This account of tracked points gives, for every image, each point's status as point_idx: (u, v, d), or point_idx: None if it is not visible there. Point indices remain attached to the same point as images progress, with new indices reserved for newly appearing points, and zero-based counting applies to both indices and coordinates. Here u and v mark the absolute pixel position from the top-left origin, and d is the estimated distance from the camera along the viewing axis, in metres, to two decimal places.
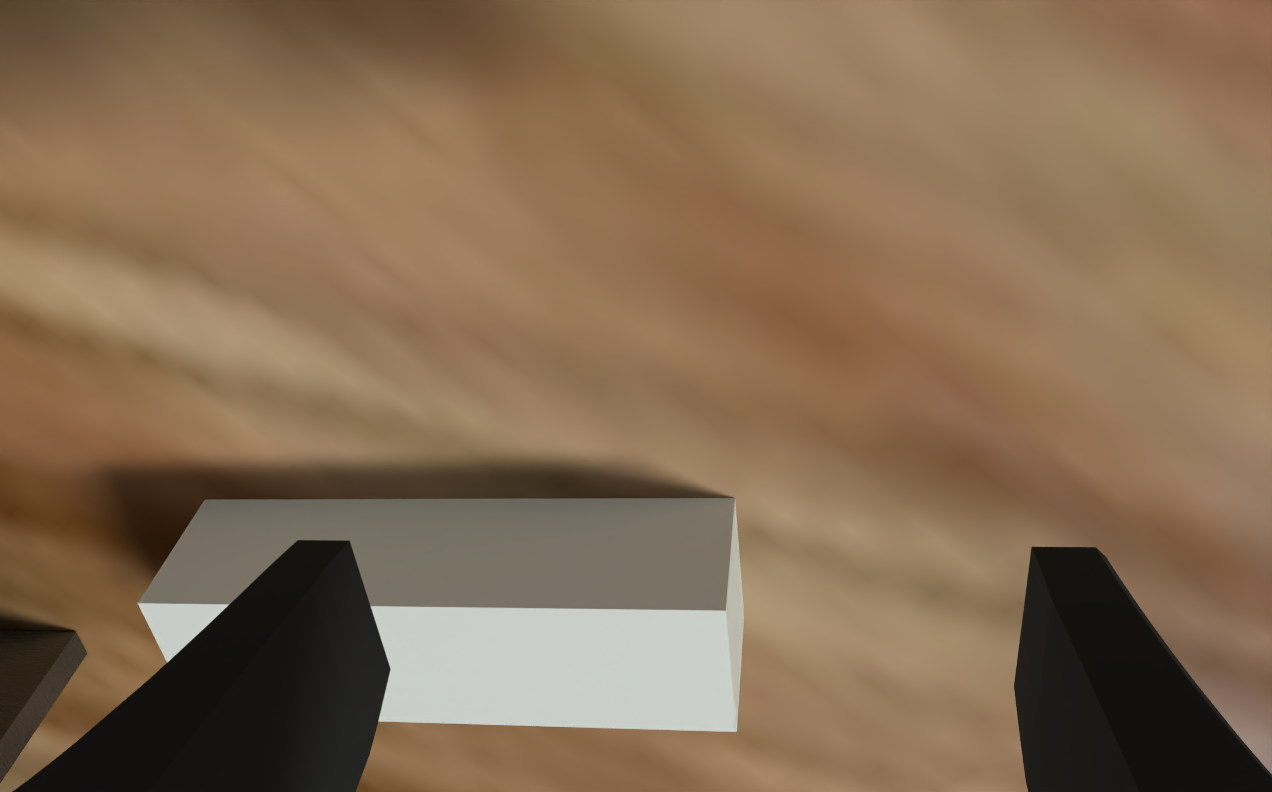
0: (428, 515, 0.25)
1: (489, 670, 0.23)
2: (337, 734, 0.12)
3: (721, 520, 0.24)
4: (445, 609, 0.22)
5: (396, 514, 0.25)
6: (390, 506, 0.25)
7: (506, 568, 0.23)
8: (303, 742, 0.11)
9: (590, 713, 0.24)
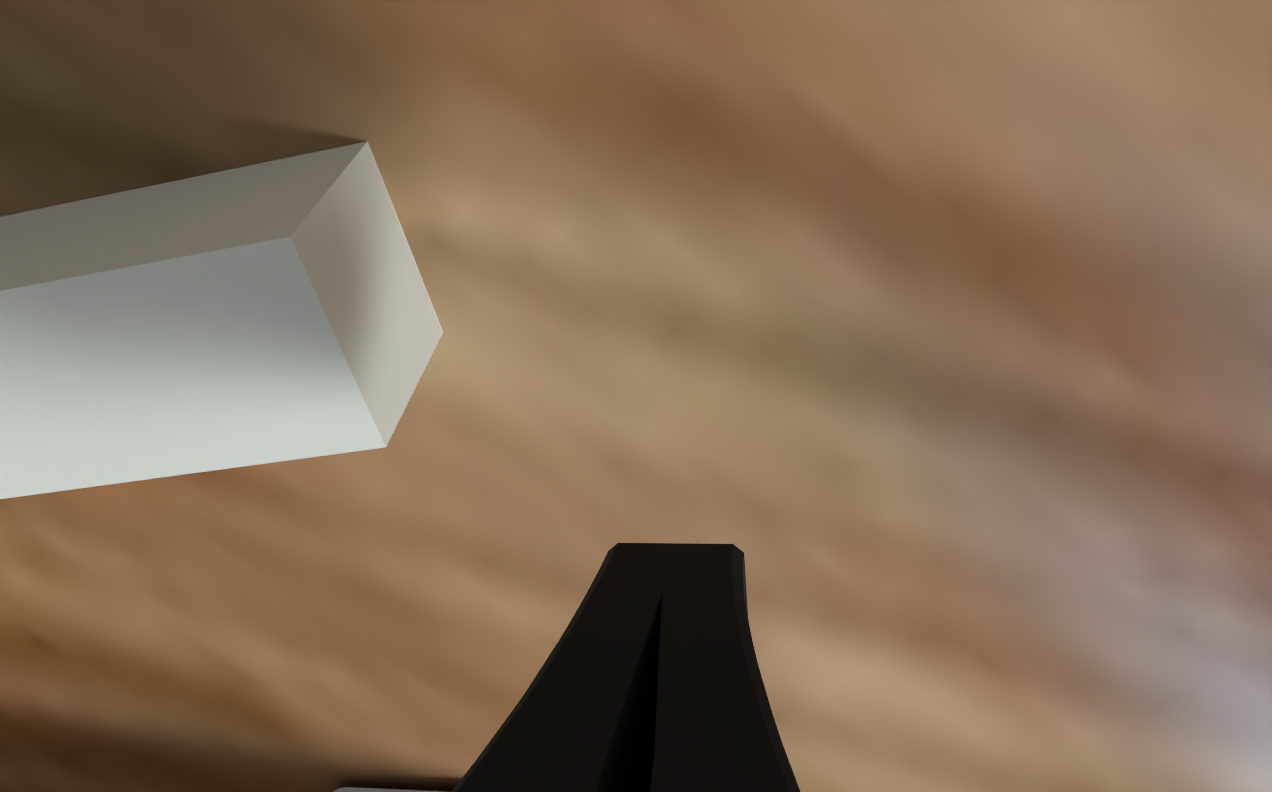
0: None
1: (46, 398, 0.17)
2: None
3: (338, 162, 0.17)
4: None
5: None
6: None
7: (48, 253, 0.17)
8: None
9: (196, 448, 0.17)
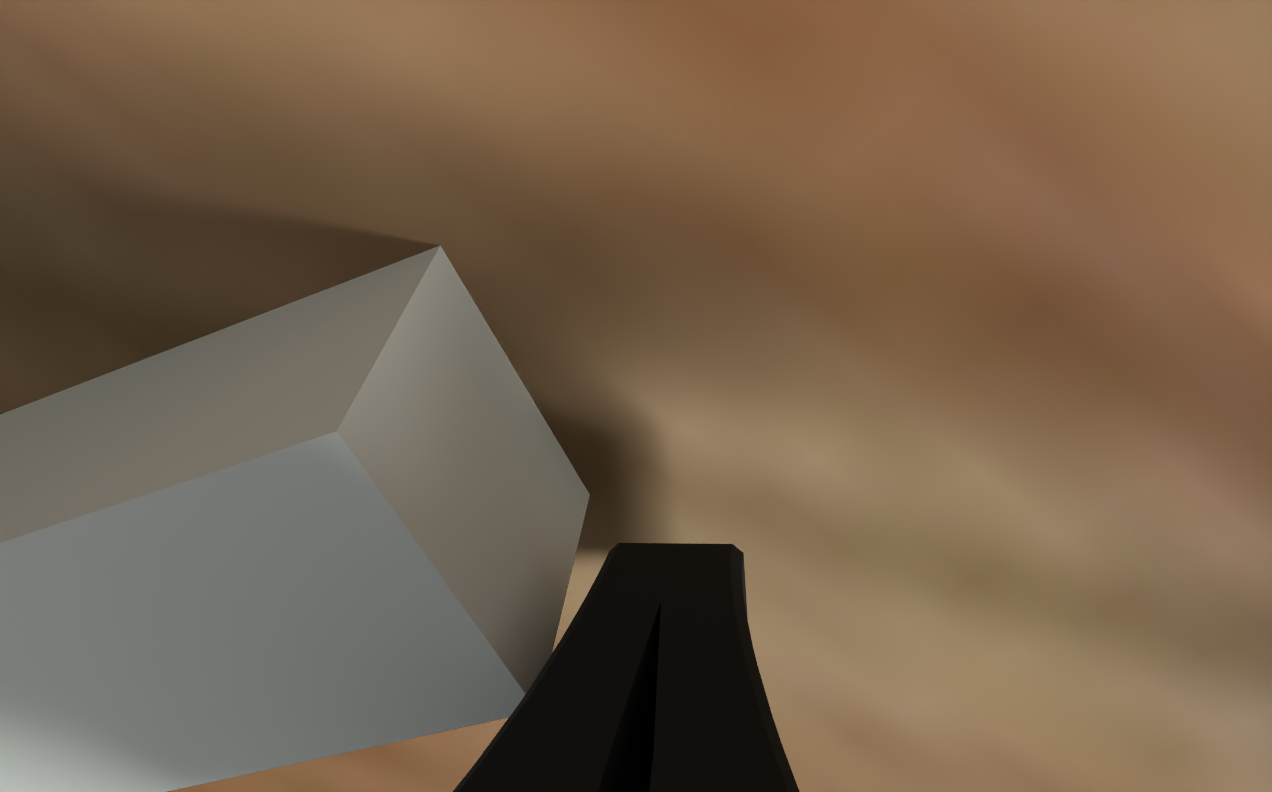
0: None
1: (40, 697, 0.12)
2: None
3: (402, 285, 0.11)
4: None
5: None
6: None
7: (11, 485, 0.12)
8: None
9: (261, 737, 0.12)
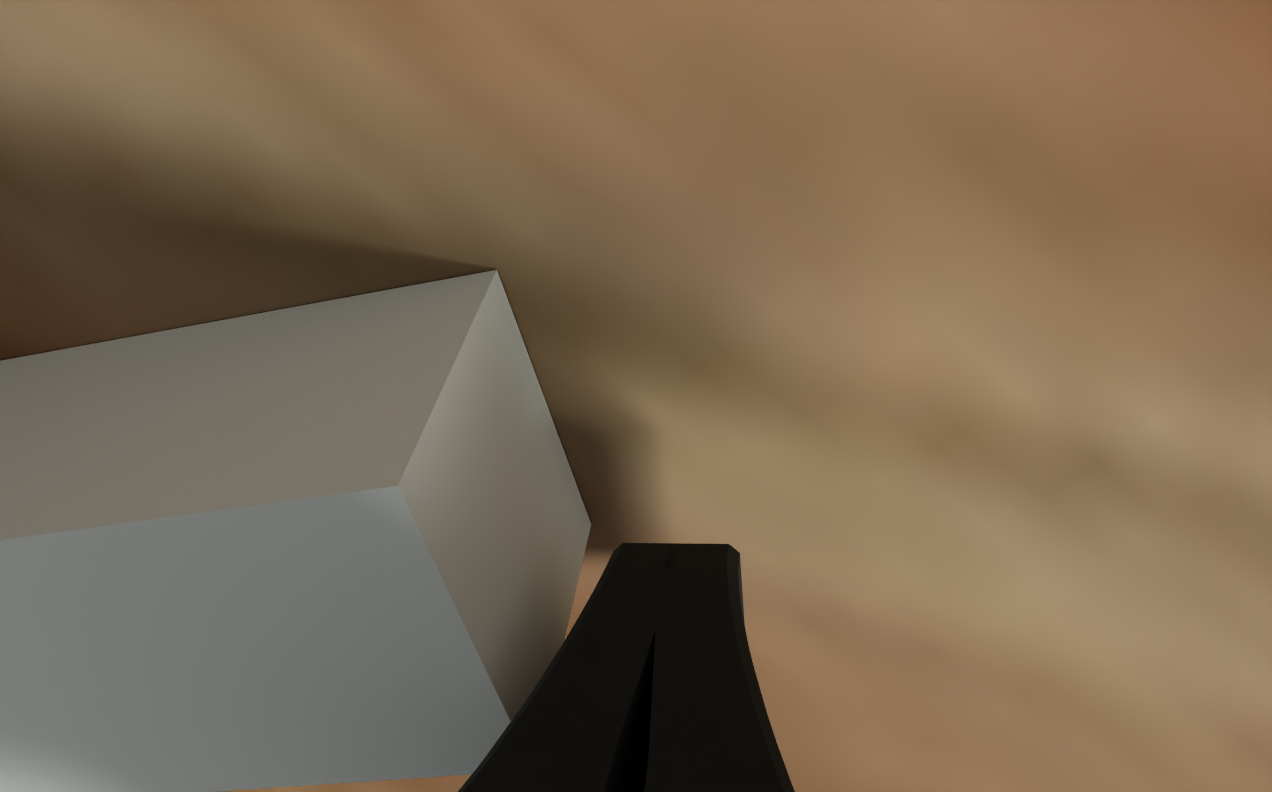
0: None
1: (6, 692, 0.11)
2: None
3: (452, 323, 0.11)
4: None
5: None
6: None
7: (6, 470, 0.11)
8: None
9: (237, 760, 0.11)
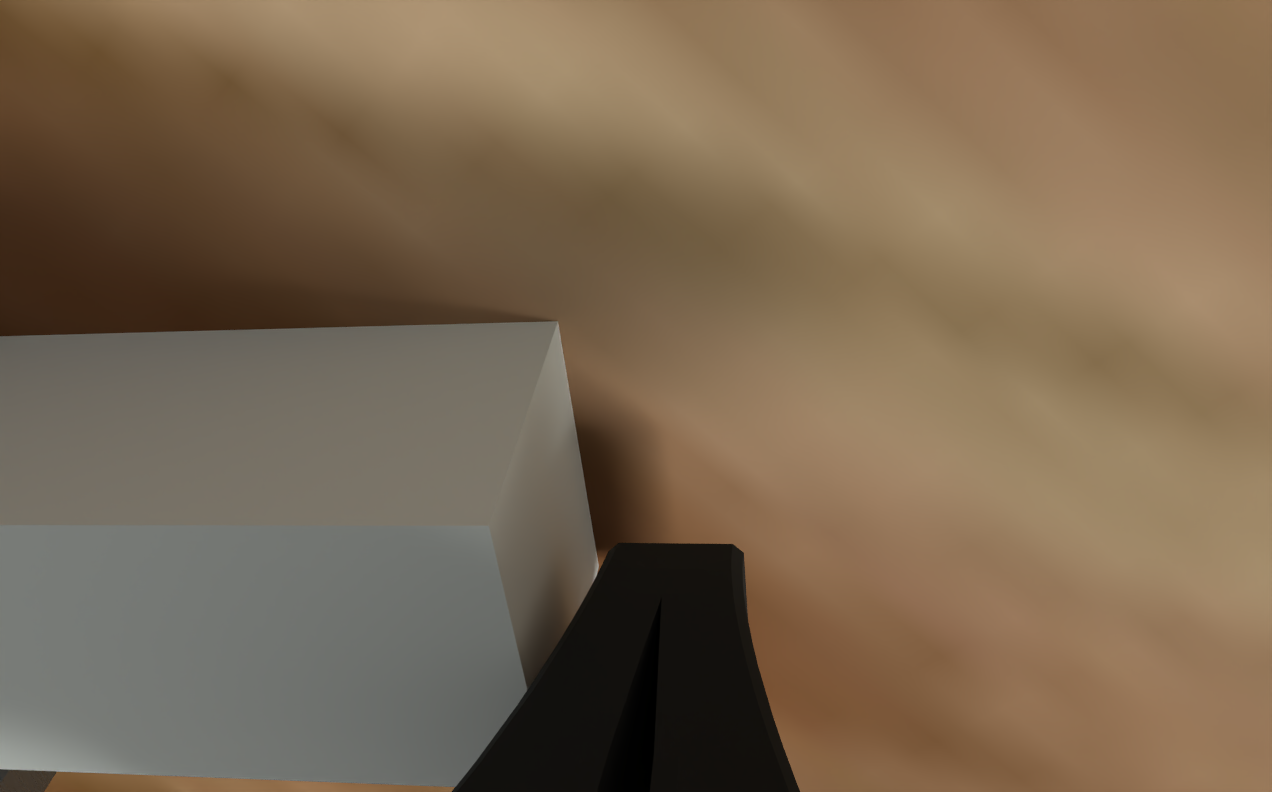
0: None
1: (38, 664, 0.11)
2: None
3: (521, 359, 0.12)
4: None
5: None
6: None
7: (66, 448, 0.11)
8: None
9: (257, 752, 0.12)
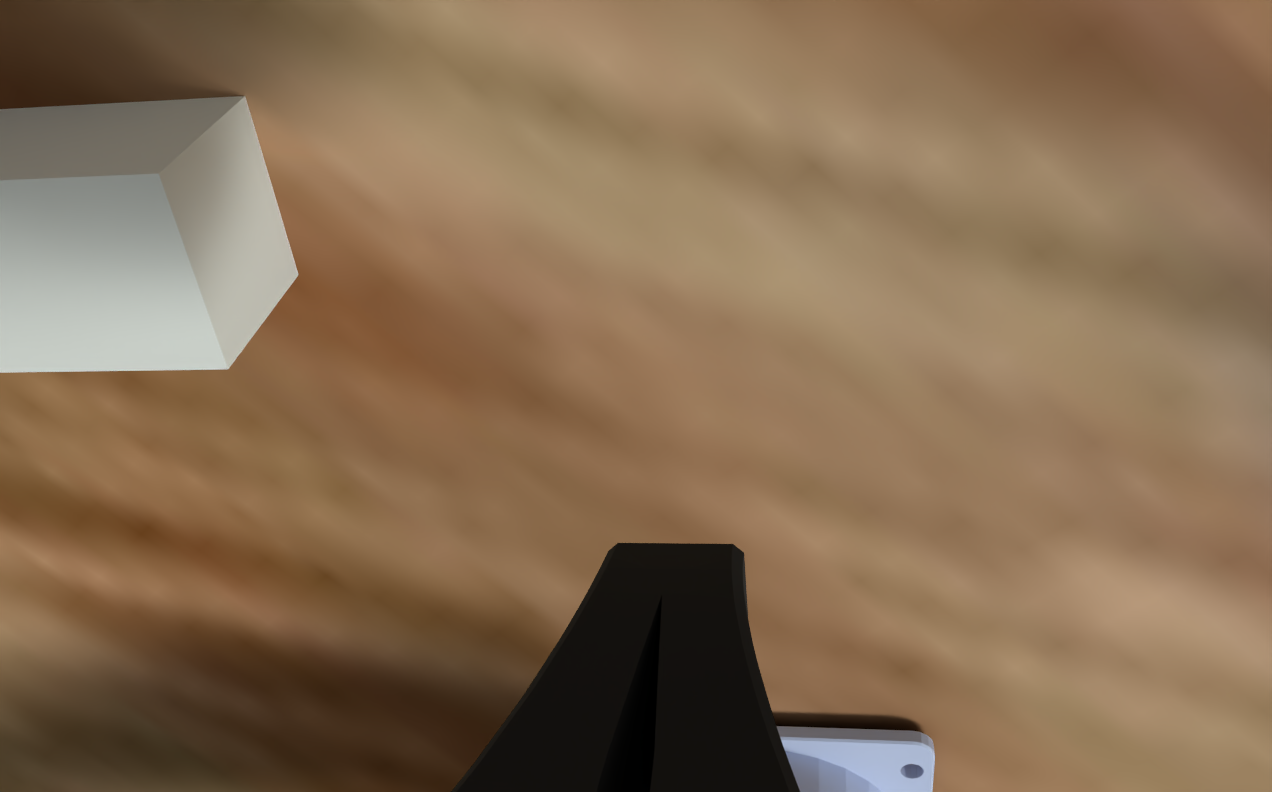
0: None
1: None
2: None
3: (214, 111, 0.19)
4: None
5: None
6: None
7: None
8: None
9: (55, 349, 0.19)
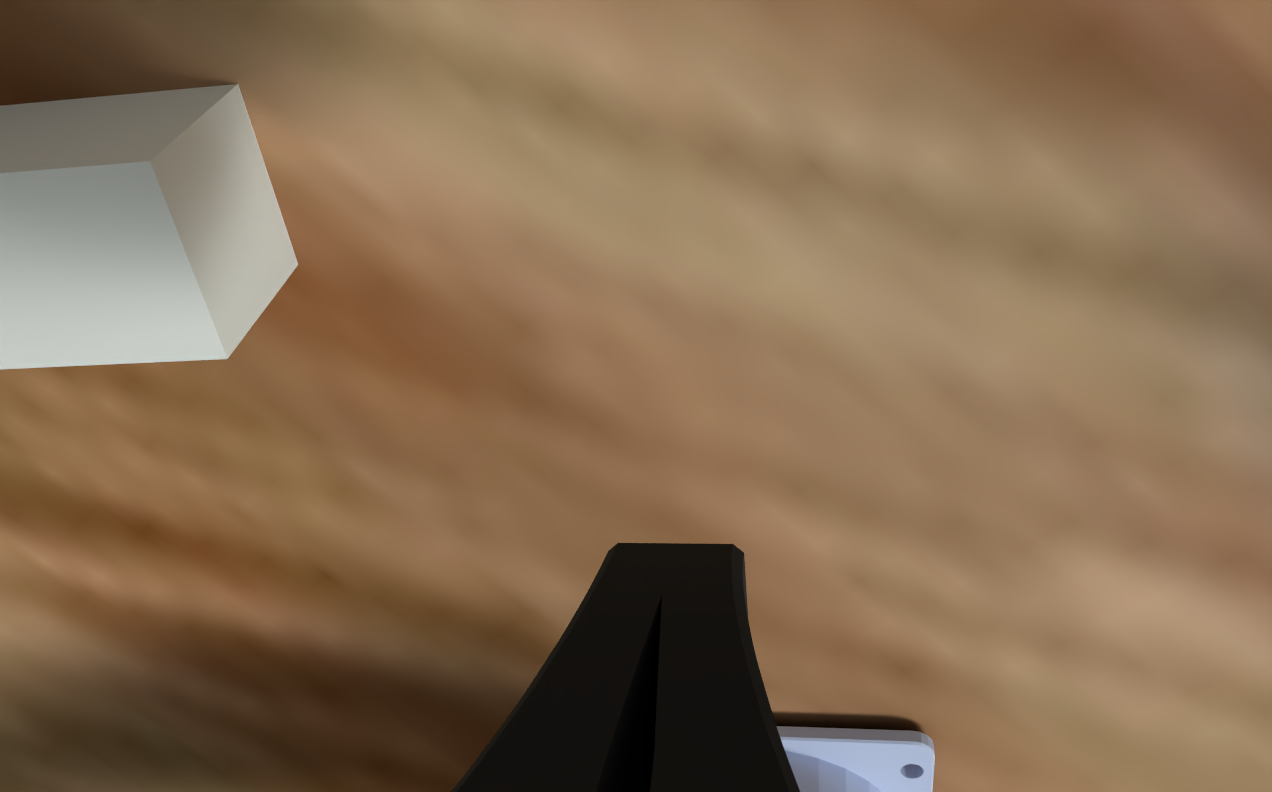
0: None
1: None
2: None
3: (207, 100, 0.19)
4: None
5: None
6: None
7: None
8: None
9: (54, 344, 0.19)
